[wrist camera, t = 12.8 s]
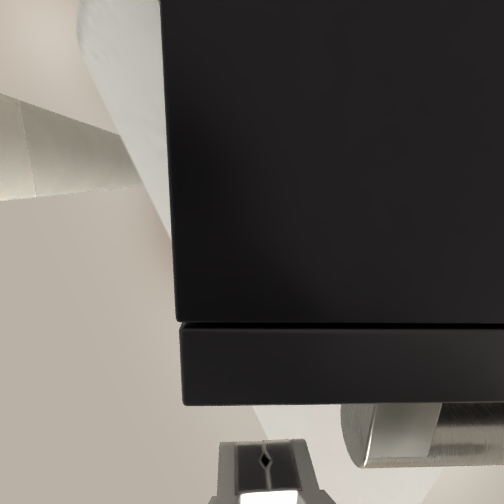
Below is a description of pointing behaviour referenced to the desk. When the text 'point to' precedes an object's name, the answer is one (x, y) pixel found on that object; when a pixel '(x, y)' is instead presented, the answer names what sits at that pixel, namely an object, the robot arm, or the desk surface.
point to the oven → (335, 160)
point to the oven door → (363, 383)
